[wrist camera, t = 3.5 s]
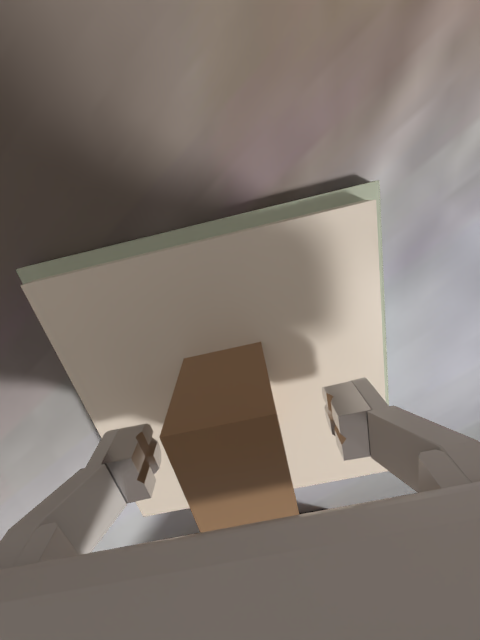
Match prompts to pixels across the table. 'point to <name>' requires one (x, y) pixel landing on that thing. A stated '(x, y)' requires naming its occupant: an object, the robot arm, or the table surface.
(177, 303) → the lid
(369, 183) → the mat
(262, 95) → the table surface
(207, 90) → the table surface
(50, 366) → the table surface
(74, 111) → the table surface
